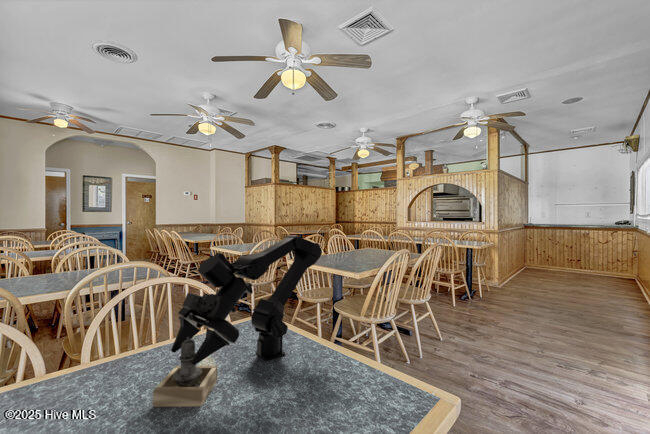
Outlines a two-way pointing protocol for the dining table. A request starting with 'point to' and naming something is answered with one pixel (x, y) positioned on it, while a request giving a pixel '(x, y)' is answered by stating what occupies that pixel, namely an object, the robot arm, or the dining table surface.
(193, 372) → the dark grey chess piece
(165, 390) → the wooden tray
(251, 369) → the dining table surface
